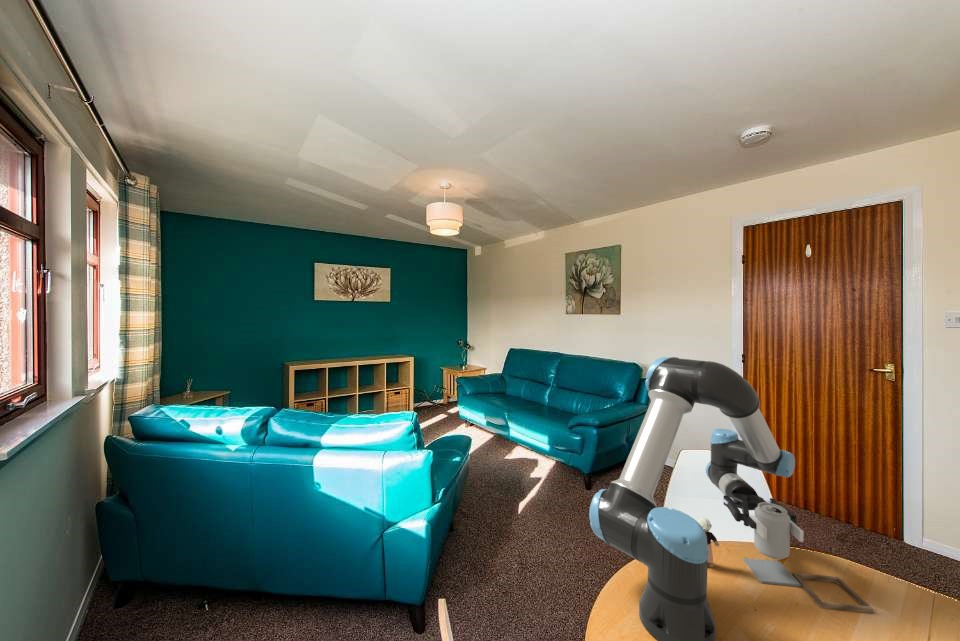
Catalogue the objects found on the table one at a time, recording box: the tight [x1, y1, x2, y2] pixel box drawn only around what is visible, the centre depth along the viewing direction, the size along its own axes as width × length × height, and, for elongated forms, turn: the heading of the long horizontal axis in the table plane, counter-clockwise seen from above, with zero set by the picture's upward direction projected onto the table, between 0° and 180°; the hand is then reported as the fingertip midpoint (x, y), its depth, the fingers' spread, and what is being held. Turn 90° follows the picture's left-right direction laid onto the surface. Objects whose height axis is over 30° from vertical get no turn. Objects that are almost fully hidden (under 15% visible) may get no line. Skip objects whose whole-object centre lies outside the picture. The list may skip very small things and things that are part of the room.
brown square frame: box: [791, 572, 875, 614], centre depth 95 cm, size 11×11×1 cm
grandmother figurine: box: [697, 517, 720, 568], centre depth 105 cm, size 8×4×13 cm, turn 106°
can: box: [753, 502, 791, 560], centre depth 102 cm, size 8×8×12 cm
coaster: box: [742, 557, 802, 588], centre depth 102 cm, size 9×9×1 cm
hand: (783, 535), depth 97 cm, fingers closed on can, 7 cm apart
